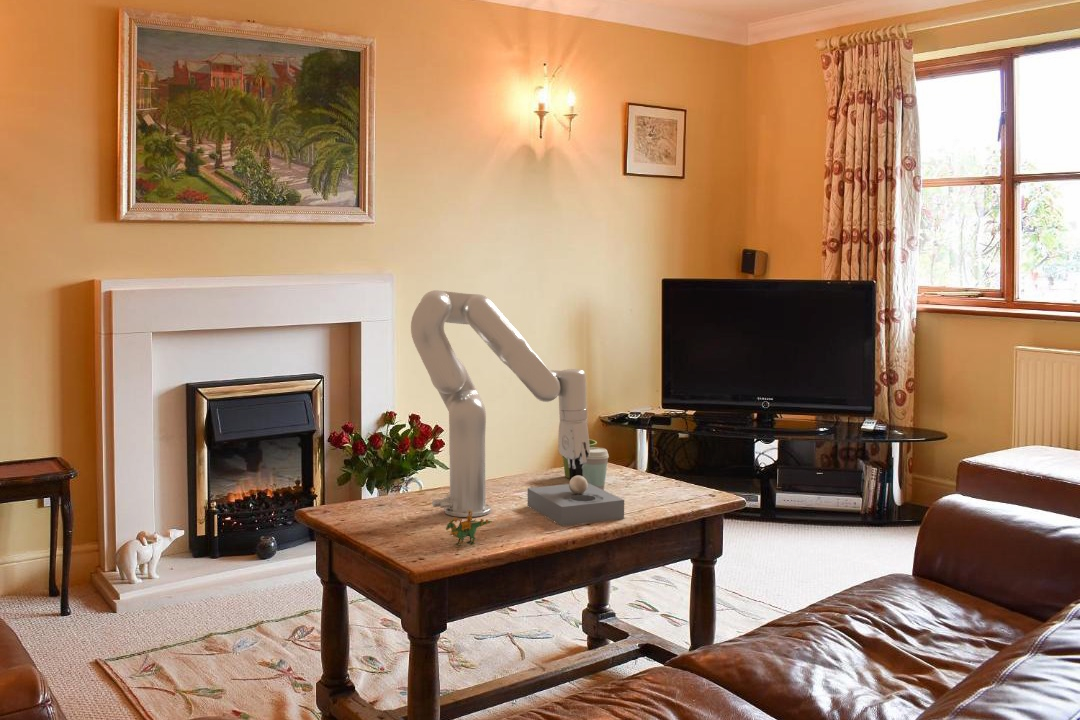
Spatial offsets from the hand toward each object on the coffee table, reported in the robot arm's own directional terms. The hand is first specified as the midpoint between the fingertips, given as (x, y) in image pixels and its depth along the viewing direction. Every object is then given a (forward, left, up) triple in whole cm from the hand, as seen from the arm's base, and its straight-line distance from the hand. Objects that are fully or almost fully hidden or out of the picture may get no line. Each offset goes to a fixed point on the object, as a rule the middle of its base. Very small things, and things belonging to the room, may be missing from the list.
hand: (576, 482), depth 273 cm
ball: (-1, -3, 0) cm, 4 cm away
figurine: (-38, -19, -8) cm, 43 cm away
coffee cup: (+14, +17, -8) cm, 23 cm away
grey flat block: (-2, -3, -7) cm, 8 cm away
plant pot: (+17, +34, -8) cm, 39 cm away
